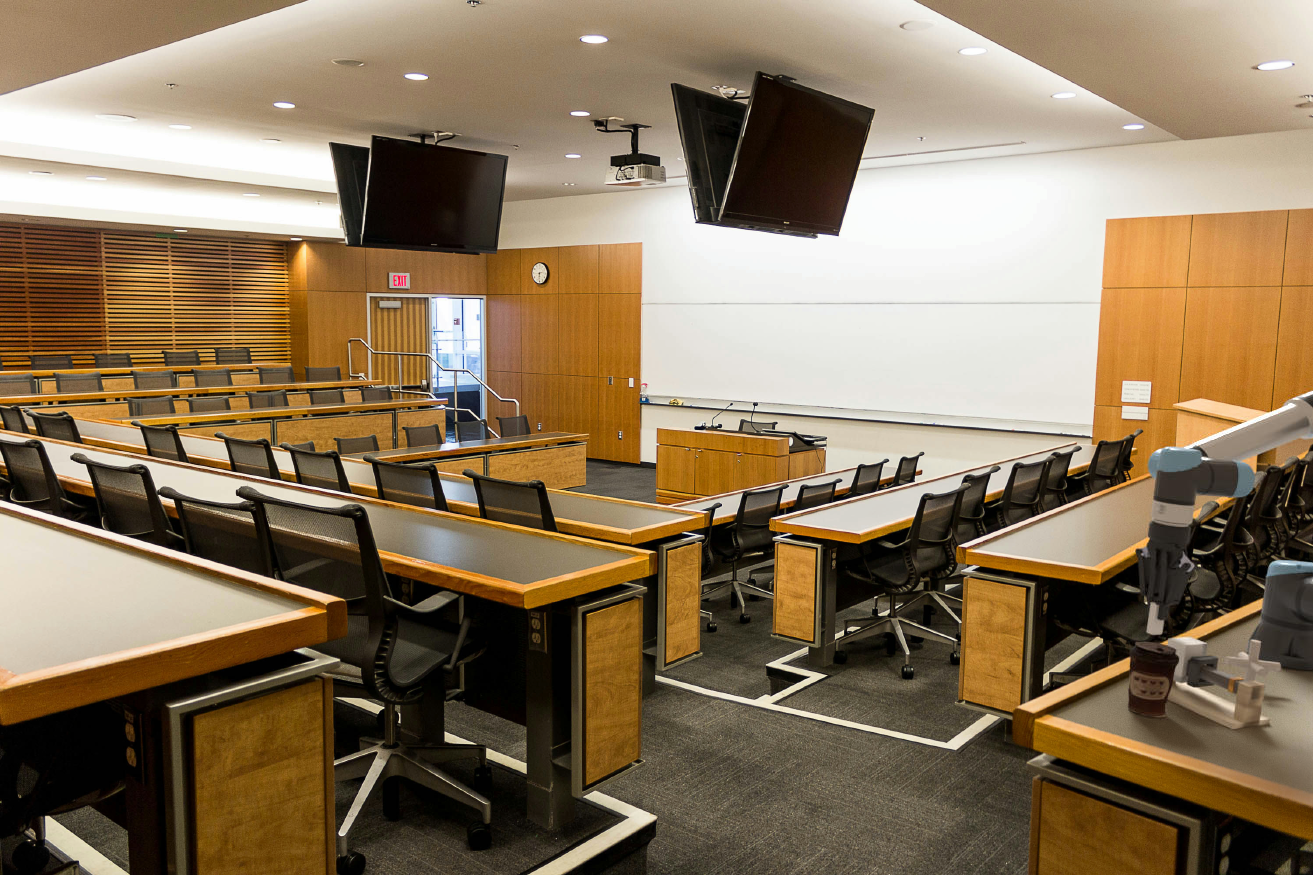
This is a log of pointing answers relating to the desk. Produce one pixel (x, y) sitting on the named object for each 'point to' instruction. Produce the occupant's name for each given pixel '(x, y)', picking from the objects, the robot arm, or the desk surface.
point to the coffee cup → (1151, 677)
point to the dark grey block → (1195, 670)
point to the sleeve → (1186, 654)
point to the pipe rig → (1219, 708)
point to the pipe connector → (1253, 662)
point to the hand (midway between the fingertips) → (1154, 633)
